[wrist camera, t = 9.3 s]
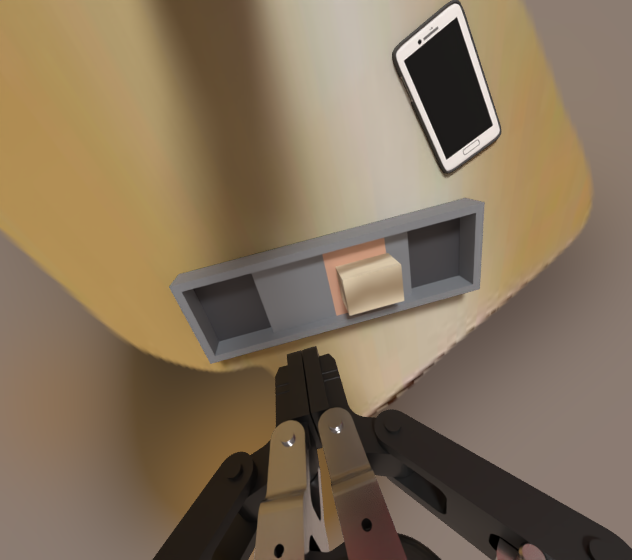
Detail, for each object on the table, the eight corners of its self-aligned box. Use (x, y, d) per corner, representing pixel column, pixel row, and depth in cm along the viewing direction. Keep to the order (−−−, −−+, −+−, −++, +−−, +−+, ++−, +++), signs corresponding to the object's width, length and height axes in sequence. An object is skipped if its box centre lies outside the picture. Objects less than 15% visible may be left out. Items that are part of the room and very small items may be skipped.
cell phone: (442, 176, 34) (447, 176, 33) (387, 53, 28) (390, 50, 27) (498, 135, 33) (504, 135, 32) (453, -2, 27) (459, -7, 26)
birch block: (335, 266, 35) (342, 280, 31) (387, 252, 35) (401, 264, 31) (342, 299, 37) (349, 315, 33) (391, 286, 37) (404, 300, 33)
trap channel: (178, 274, 34) (169, 286, 31) (465, 197, 35) (484, 202, 32) (215, 346, 39) (210, 363, 36) (463, 278, 41) (479, 288, 37)
